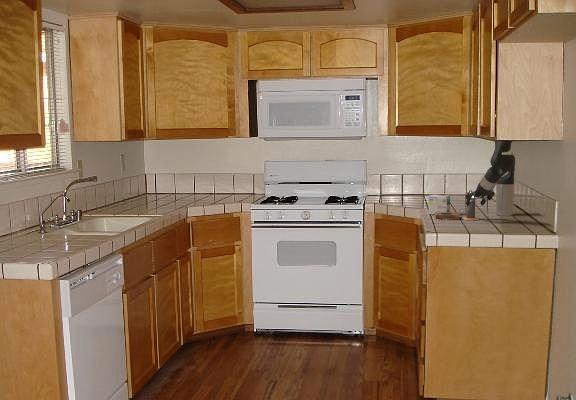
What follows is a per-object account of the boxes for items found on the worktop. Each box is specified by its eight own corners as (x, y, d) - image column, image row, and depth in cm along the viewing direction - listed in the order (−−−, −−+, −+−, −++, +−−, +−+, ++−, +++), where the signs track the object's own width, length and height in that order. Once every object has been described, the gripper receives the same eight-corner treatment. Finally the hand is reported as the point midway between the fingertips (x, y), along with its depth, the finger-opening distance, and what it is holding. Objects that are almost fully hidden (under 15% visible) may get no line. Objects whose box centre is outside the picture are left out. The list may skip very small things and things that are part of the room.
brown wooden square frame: (434, 216, 347) (434, 212, 347) (457, 216, 345) (457, 212, 345) (435, 219, 336) (435, 215, 335) (459, 220, 333) (459, 215, 333)
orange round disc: (460, 218, 340) (460, 216, 340) (478, 218, 339) (478, 216, 339) (462, 220, 332) (462, 218, 332) (480, 220, 330) (480, 219, 330)
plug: (465, 217, 338) (465, 192, 337) (475, 217, 337) (475, 192, 336) (466, 218, 333) (466, 193, 332) (476, 218, 332) (476, 193, 331)
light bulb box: (450, 214, 357) (450, 195, 355) (447, 215, 351) (447, 196, 350) (431, 213, 362) (432, 194, 361) (428, 214, 356) (428, 195, 355)
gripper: (496, 178, 323) (483, 198, 335) (472, 178, 319) (459, 199, 331) (502, 189, 318) (489, 209, 330) (477, 190, 314) (464, 210, 327)
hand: (474, 204), depth 331 cm, fingers open, 8 cm apart
